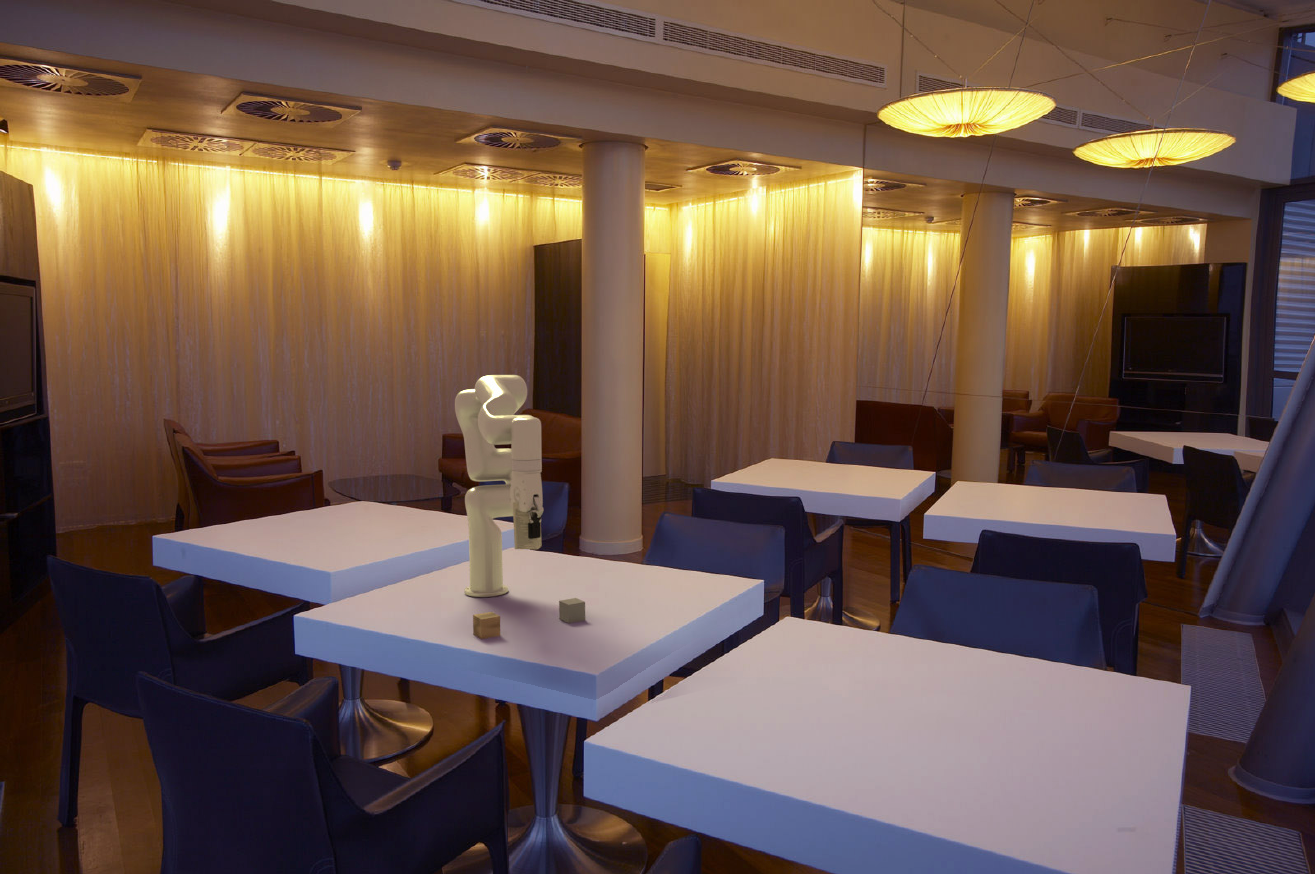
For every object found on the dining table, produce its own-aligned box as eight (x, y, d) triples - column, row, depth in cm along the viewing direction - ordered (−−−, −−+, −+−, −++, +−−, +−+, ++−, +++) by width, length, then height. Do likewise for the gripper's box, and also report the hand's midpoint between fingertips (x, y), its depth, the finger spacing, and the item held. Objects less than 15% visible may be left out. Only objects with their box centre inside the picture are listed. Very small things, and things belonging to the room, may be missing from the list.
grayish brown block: (559, 619, 237) (559, 600, 236) (576, 616, 240) (575, 597, 239) (568, 623, 233) (568, 604, 232) (585, 620, 235) (585, 601, 235)
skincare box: (542, 546, 231) (541, 499, 230) (538, 550, 226) (537, 501, 225) (517, 546, 231) (516, 499, 230) (513, 549, 227) (512, 501, 226)
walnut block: (473, 634, 223) (473, 614, 223) (492, 631, 226) (491, 611, 226) (481, 639, 219) (481, 619, 219) (500, 635, 222) (500, 616, 222)
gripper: (498, 463, 232) (499, 531, 234) (528, 470, 218) (529, 542, 219) (525, 462, 237) (526, 529, 238) (555, 468, 222) (556, 539, 224)
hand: (527, 535), depth 229 cm, fingers closed on skincare box, 7 cm apart
